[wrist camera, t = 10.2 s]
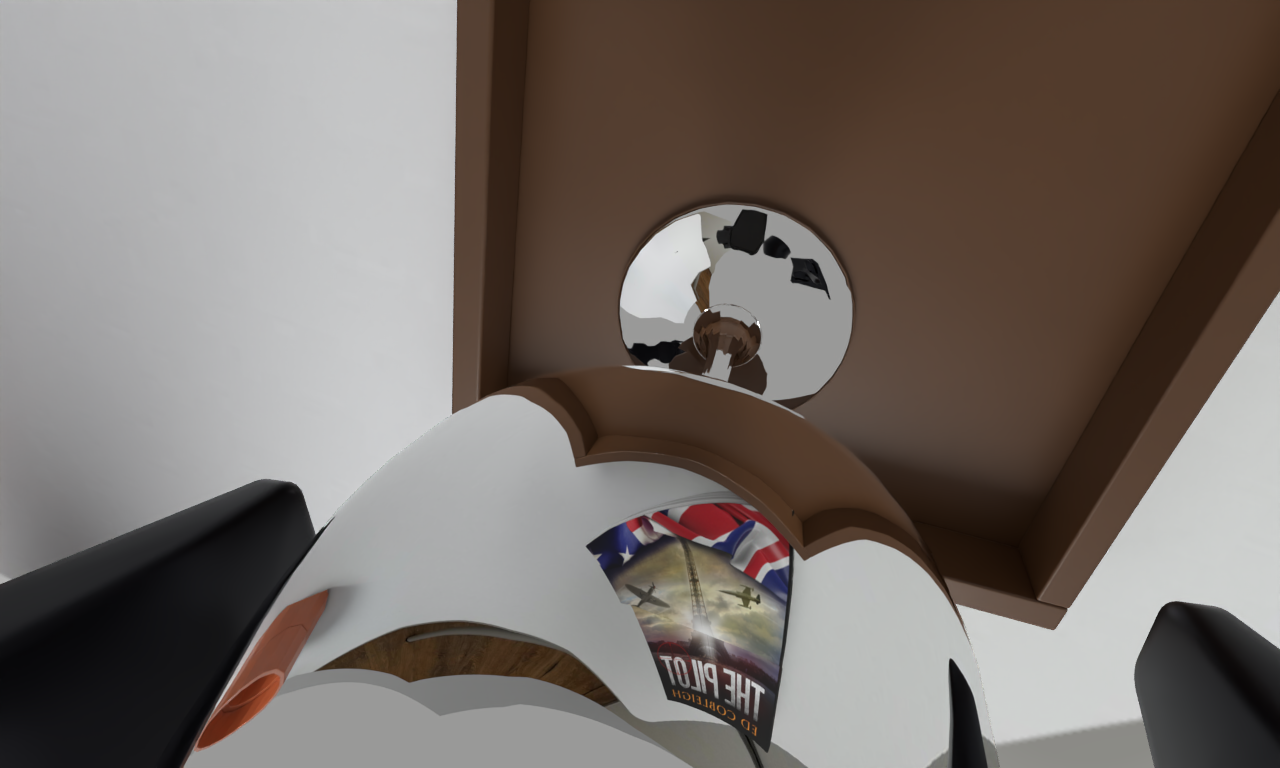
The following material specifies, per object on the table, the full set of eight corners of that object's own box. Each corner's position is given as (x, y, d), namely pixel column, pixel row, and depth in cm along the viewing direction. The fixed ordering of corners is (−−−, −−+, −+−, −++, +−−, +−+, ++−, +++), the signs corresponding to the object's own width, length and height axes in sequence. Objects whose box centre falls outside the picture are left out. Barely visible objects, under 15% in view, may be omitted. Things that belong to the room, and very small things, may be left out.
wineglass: (548, 199, 13) (-485, 963, 3) (875, 127, 11) (1433, 1577, 1) (627, 458, 15) (236, 1380, 5) (907, 433, 14) (1159, 1776, 3)
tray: (1027, 555, 15) (1055, 631, 13) (491, 416, 16) (449, 467, 15) (1504, -258, 8) (1692, -328, 6) (527, -369, 10) (460, -451, 8)
